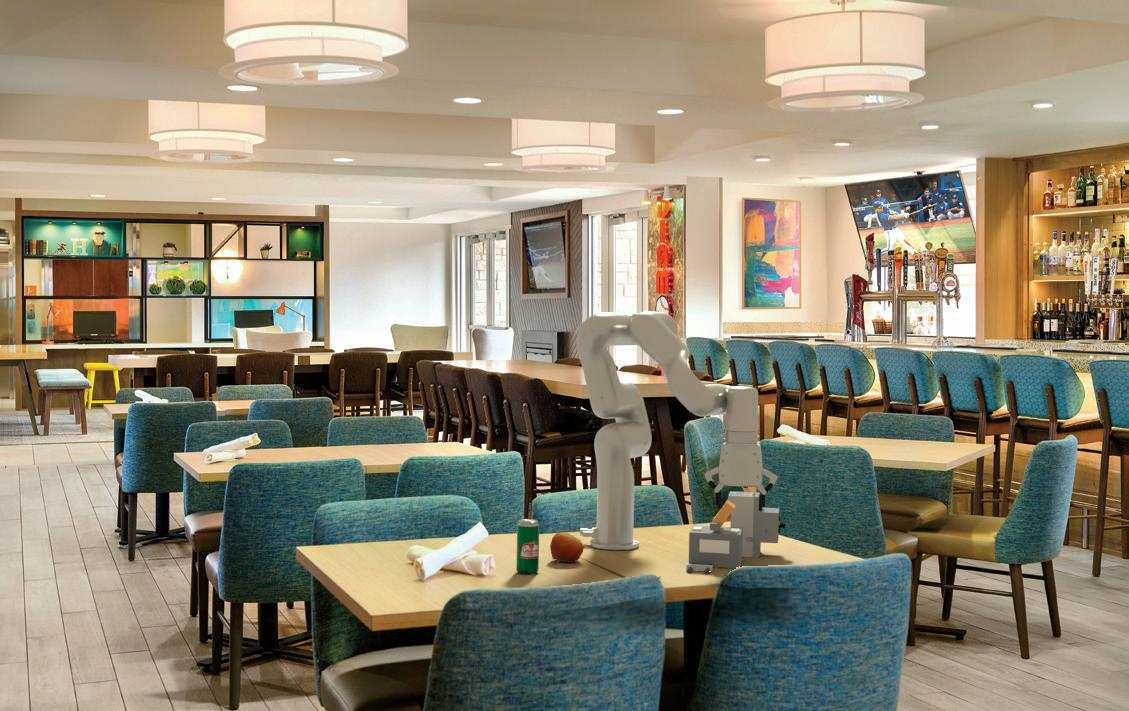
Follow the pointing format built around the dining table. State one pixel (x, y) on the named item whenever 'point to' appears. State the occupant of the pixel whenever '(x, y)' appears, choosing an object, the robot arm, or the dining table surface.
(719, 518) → the lever
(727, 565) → the panel
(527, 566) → the soda can
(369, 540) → the dining table surface
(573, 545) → the fruit
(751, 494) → the circuit breaker
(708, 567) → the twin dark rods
